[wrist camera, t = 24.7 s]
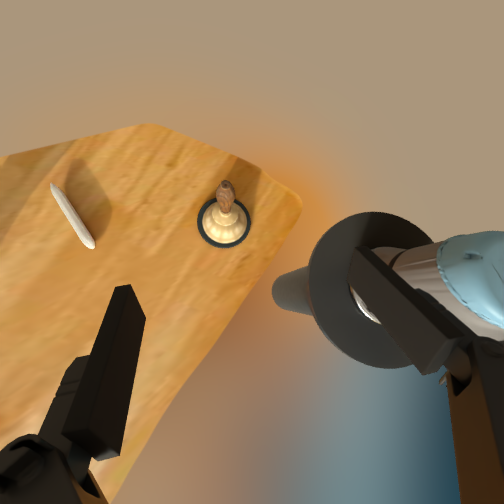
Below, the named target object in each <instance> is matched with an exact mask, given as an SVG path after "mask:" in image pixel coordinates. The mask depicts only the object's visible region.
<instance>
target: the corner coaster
mask: <svg viewBox="0 0 504 504" xmlns="http://www.w3.org/2000/svg"><path fill="white" fill-rule="evenodd" d="M215 202H218V201H217V198H214V199H212V200H210V201H208V202H207V203H206V204H205V205H204V206H203V207H202V208H201V210H200V212H199V214H198V218H197V225H198V229H199V232H200V234H201V236H202V237H203V239H204V240H205V241H206V242H208V243H209V244H211V245H213V246H215V247H218V248H230V247H234V246H236V245H238V244H240V243H241V242H242V241H243V240H244V239H245V238H246V236H247V235H248V233H249V230H250V225H251V220H250V215H249V213H248V211H247V209H246V208H245V206H244V205H243V204H242V203H240V202H239V201H237V200H236V199H234V202H233V203H235V204H237V205H238V206H240V207H241V208H242V210H243V211H244V213H245V215H246V218H247V227H246V230H245V232H244V234H243V235H242V236H241V237H240V238H239V239H238V240H236V241H234V242H231V243H219V242H216V241H214V240H212V239H211V238H210V237H209V236H208V235H207V234H206V232H205V231H204V228H203V223H202V220H203V215H204V213H205V211H206V209H207V208H208V207H209V206H210V205H212V204H213V203H215Z"/></svg>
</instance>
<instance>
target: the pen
mask: <svg viewBox="0 0 504 504" xmlns="http://www.w3.org/2000/svg"><path fill="white" fill-rule="evenodd" d="M50 187H51V191H52V194H53V196H54V197H55V199H56V201H57V202H58V204H59V206H60V207H61V209H62V211H63V212H64V214H65V215H66V217H67V219H68V220H69V222H70V223H71V225H72V227H73V228H74V230H75V231H76V233H77V234H78V236H79V238H80V239H81V241H82V242H83V243H84V244H85V245H86V246H87V247H88V248H90V249H94V248H95V241H94V239H93V238H92V236H91V235H90V233H89V231H88V230H87V228H86V227H85V225H84V223H83V222H82V220H81V219H80V217H79V215H78V214H77V212H76V211H75V209H74V208H73V206H72V205H71V203H70V202H69V200H68V199H67V197H66V196H65V194H64V193H63V192H62V191H61V190H60V189H59V188H58V187H57V186H56V185H54V184H53V183H51V184H50Z"/></svg>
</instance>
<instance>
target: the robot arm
mask: <svg viewBox="0 0 504 504" xmlns="http://www.w3.org/2000/svg"><path fill="white" fill-rule="evenodd" d="M346 281H347V282H348V287H349V293H350V296H351V299H352V301H353V303H354V305H355V306H356V308H357V309H358V310H359V312H360V313H361V314H362V315H364V316H365V317H366V318H367V319H369V320H371V321H373V322H375V323H378V324H382V326H383V327H384V328H385V329H386V331H387V332H388V333H389V334H390V336H391V337H392V338H393V339H394V341H395V342H396V343H397V344H398V345H399V347H400V348H401V349H402V350H403V352H404V353H405V354H406V355H407V357H408V358H409V359H410V360H411V362H412V363H413V364H414V365H415V367H416V368H417V369H418V370H419V372H420V373H421V374H422V375H426V374H431V373H434V372H437V371H438V370H439V369H440V367H441V366H442V365H444V366H445V367H446V368H447V372H446V373H445V374H444V375H443V377H442V378H441V379H440V381H439V384H440V385H442V384H443V383H444V382H445V381H447V385H446V387H447V389H448V398H449V405H450V415H451V423H452V432H453V440H454V448H455V457H456V465H457V473H458V482H459V491H460V499H461V504H504V232H503V231H485V232H479V233H474V234H469V235H457V236H454V237H451V238H448V239H447V240H445V241H441V242H437V243H433V244H429V245H424V246H420V247H416V248H412V249H408V250H406V249H400V248H393V247H378V248H374V249H369V248H368V247H367V246H360V247H355V249H354V253H353V257H352V261H351V265H350V269H349V272H348V276H347V280H346ZM145 321H146V317H145V315H144V313H143V310H142V308H141V306H140V304H139V302H138V299H137V297H136V295H135V293H134V291H133V288H132V286H131V284H129V285H123V286H117V287H115V289H114V292H113V295H112V297H111V300H110V303H109V305H108V308H107V311H106V313H105V316H104V319H103V321H102V324H101V327H100V329H99V332H98V335H97V337H96V340H95V343H94V345H93V348H92V351H91V353H90V355H87V356H82V357H77V358H76V359H75V360H74V361H73V362H72V364H71V365H70V366H69V367H68V368H67V370H66V372H65V374H64V376H63V378H62V381H61V383H60V386H59V388H58V390H57V392H56V394H55V395H56V397H55V398H54V399H53V401H52V404H51V406H50V408H49V410H48V413H47V415H46V417H45V420H44V422H43V424H42V426H41V429H40V431H39V433H38V435H36V434H27V435H24V436H21V437H18V438H17V439H15V440H14V441H12V442H11V443H9V444H8V445H6V446H5V447H4V448H3V449H2V450H1V451H0V504H108V502H107V500H106V498H105V496H104V495H103V493H102V491H101V489H100V487H99V485H98V484H97V482H96V480H95V478H94V476H93V474H92V473H91V471H90V470H89V469H88V468H89V464H90V461H91V457H93V458H94V459H95V460H97V461H101V460H105V459H109V458H113V457H116V456H120V452H121V447H122V441H123V436H124V431H125V426H126V420H127V415H128V410H129V405H130V399H131V394H132V389H133V384H134V378H135V373H136V368H137V363H138V357H139V352H140V347H141V342H142V336H143V331H144V326H145Z"/></svg>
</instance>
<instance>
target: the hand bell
mask: <svg viewBox="0 0 504 504" xmlns="http://www.w3.org/2000/svg"><path fill="white" fill-rule="evenodd" d="M216 198H217V201H218V202H215V203H213V204H212V205H210V206H209V207H208V208H207V209H206V211H205V213H204V215H203V220H202V223H203V228H204V231H205V232H206V234H207V235H208V236H209V237H210V238H211V239H212V240H214V241H216V242H219V243H231V242H234V241H236V240H238V239H239V238H240V237H241V236H242V235H243V234H244V232H245V230H246V227H247V218H246V215H245V213H244V211H243V210H242V208H241V207H240V206H238V205H237V204H235V203H233V202H234V199H235V190H234V188H233V186H232V185H231V183H230V182H229V181H227V180H224V181H222V182H221V184H220V185H219V186H218V188H217V190H216Z"/></svg>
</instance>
